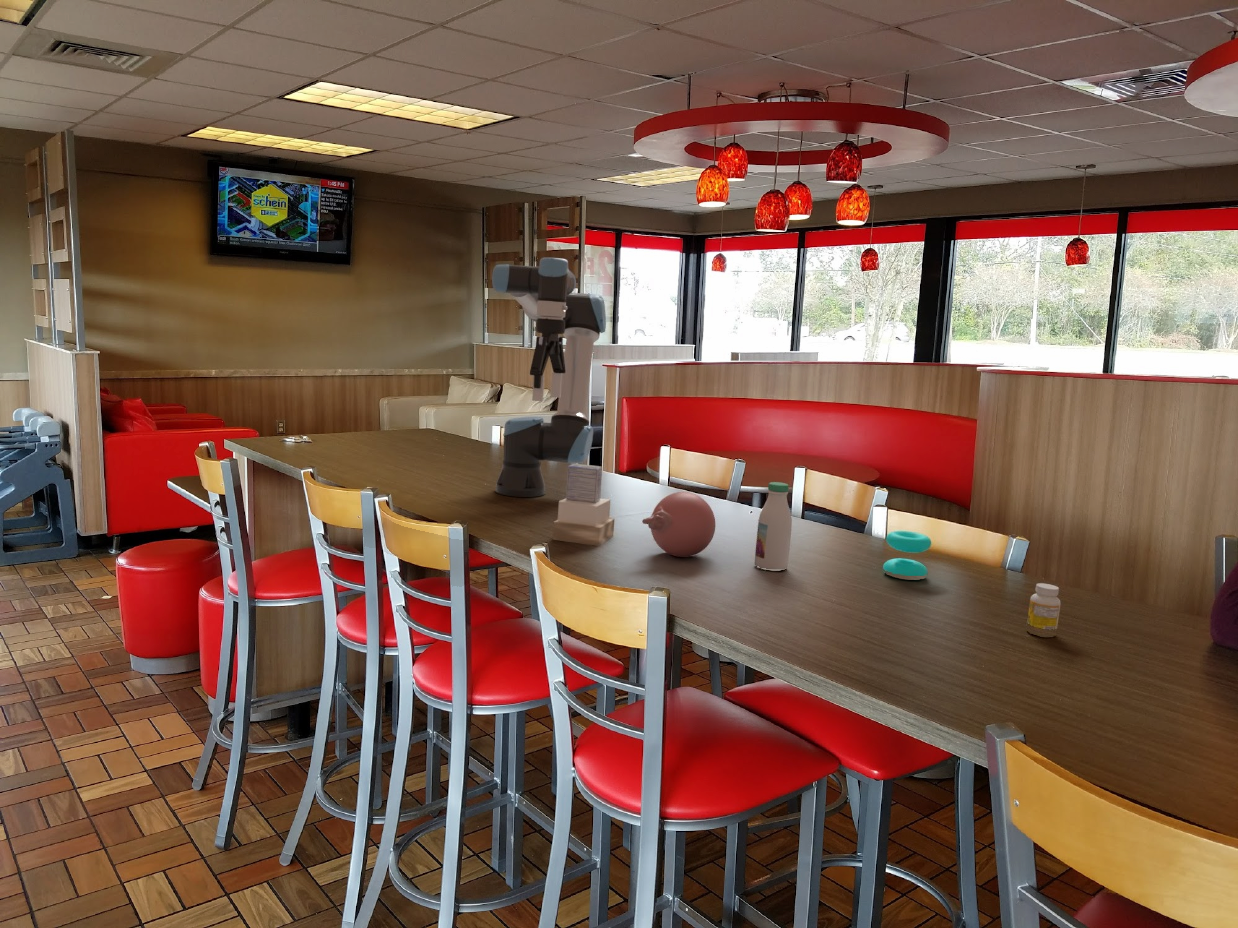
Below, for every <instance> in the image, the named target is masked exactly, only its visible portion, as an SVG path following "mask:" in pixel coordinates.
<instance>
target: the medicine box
mask: <svg viewBox="0 0 1238 928" xmlns="http://www.w3.org/2000/svg"><path fill="white" fill-rule="evenodd" d="M602 473H603V467H602V466H599V465H591V464H590V465H589V464H583V463H571V464H570V465H568V466H567V473H566V474H567V476H566V495H565V498H566V499H567V500H576V501H585V502H594V503H596V502H598V501H599V500H600V498H602V497H601V496H602V476H603V474H602Z"/></svg>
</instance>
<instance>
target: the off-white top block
mask: <svg viewBox="0 0 1238 928" xmlns="http://www.w3.org/2000/svg"><path fill="white" fill-rule="evenodd" d="M610 511H611V499H608V498H602V497H601V498H600V500H599V501H598V502H596V503H594V502H585V501H576V500H567V499H566V497H565V498H564V499H560V500H559V501H558V509H557V512H558V513H557V520H558V521H561V522H568V523H575V524H582V525H589V526H597V525H599V524H601V523H603V522H605V521H606V520H608V519H609V518H610V515H611V514H610V513H611V512H610Z"/></svg>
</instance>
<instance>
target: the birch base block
mask: <svg viewBox="0 0 1238 928" xmlns="http://www.w3.org/2000/svg"><path fill="white" fill-rule="evenodd" d="M552 527H553V530H552V540H553V541H554V540H555V541H562V542H568V543H573V544H583V545H589V546H597V547H600V546H601V545H602V544H604V543H606V542H607V541H608V540H609V539H611V538H613V537H614V534H615V533H614V531H615V518H612V517H609V519H608V520H606V521H605V522H603V523H601V524H599V525H597V526H589V525H582V524H575V523H568V522H561V521H558V519H556V520H555V521H553V526H552Z"/></svg>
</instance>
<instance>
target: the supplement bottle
mask: <svg viewBox="0 0 1238 928" xmlns="http://www.w3.org/2000/svg"><path fill="white" fill-rule="evenodd" d="M1034 590H1035V593H1034V594H1032V595H1031V596H1030V599H1029V606H1028V614H1027V615H1028V616H1027V621H1026V624H1027V623H1028V624H1030V625H1031V626H1034V627H1036V628H1041V629H1049V630H1051V629H1053V630H1054V629H1057V630H1058V623H1059V617H1060V611H1061V600H1060V599H1059V597H1057V596H1058V595H1059V592H1060V588H1059V587H1058V586H1057V585H1053V584H1049V583H1043V582H1040V583H1036V584H1035V589H1034Z"/></svg>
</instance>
